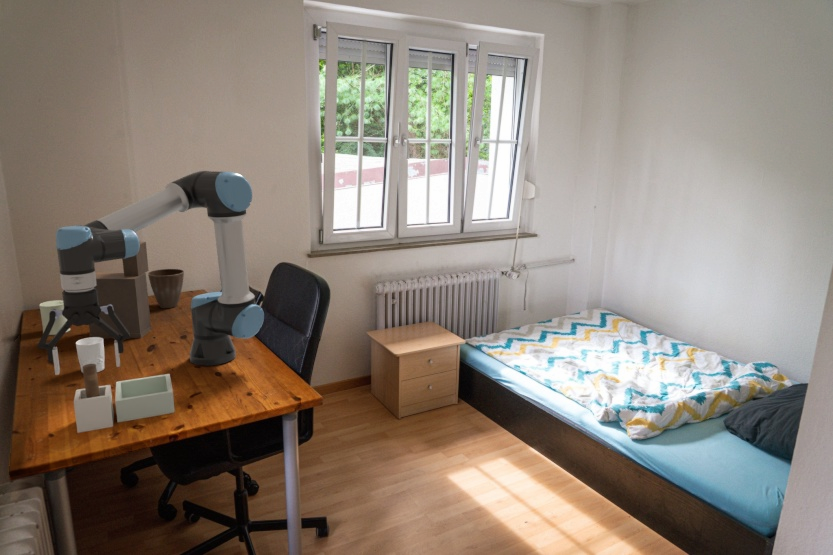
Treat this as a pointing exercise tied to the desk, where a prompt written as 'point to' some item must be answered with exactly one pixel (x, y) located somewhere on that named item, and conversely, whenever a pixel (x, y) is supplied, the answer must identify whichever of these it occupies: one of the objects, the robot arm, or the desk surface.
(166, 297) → the plant pot
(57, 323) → the can
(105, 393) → the pen pot
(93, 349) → the white cup
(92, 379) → the dowel
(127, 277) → the two-tier brown block
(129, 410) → the bin
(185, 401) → the desk surface
